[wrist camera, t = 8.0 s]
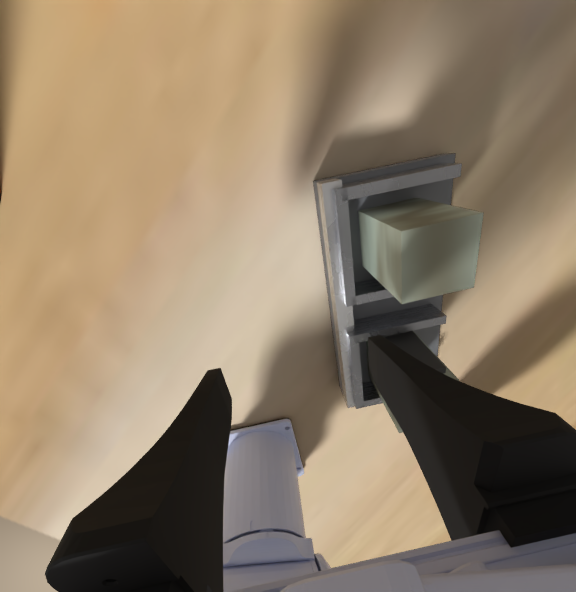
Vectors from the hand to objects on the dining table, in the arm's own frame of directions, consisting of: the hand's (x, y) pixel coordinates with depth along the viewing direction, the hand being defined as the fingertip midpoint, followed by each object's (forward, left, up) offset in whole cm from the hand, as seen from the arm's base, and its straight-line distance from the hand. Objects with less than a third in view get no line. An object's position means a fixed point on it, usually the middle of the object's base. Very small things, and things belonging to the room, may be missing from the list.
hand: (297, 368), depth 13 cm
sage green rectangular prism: (+3, -8, -8) cm, 12 cm away
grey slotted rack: (-2, -8, -9) cm, 13 cm away
